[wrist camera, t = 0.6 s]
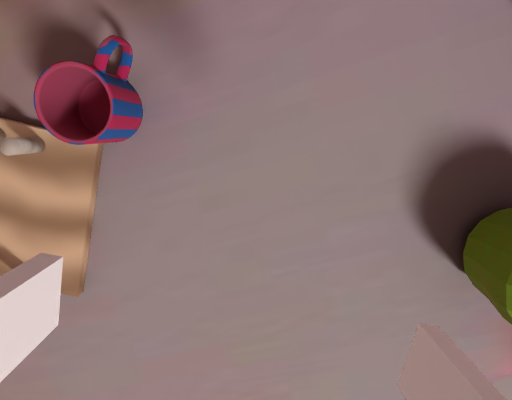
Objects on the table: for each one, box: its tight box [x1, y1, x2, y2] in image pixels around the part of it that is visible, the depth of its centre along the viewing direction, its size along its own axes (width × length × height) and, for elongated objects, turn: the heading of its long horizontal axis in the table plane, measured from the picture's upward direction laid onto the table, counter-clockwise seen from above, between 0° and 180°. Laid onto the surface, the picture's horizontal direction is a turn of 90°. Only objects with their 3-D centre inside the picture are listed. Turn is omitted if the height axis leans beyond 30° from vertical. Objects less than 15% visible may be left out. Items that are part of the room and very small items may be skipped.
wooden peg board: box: [0, 117, 103, 297], centre depth 32 cm, size 18×16×5 cm
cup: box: [34, 35, 143, 145], centre depth 29 cm, size 7×10×7 cm
